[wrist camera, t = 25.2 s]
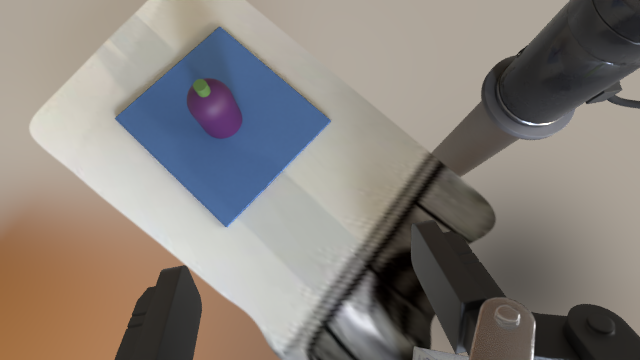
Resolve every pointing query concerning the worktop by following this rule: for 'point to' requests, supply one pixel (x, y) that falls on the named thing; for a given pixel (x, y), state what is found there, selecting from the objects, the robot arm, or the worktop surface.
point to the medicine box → (435, 355)
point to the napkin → (235, 151)
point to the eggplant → (214, 108)
